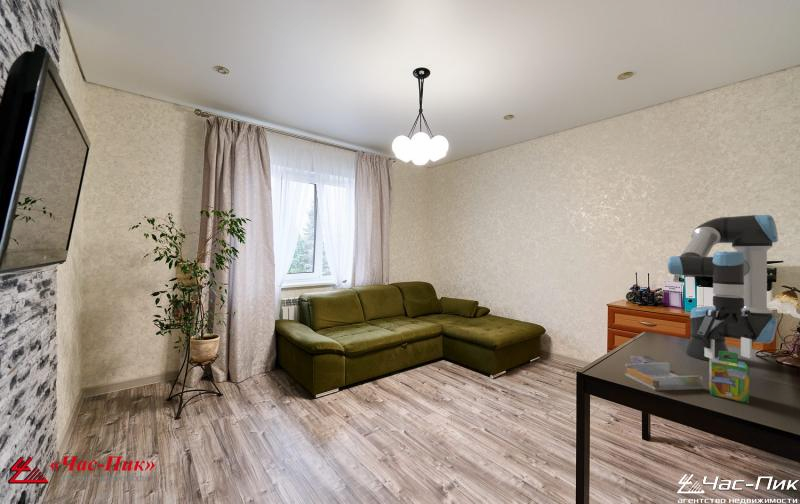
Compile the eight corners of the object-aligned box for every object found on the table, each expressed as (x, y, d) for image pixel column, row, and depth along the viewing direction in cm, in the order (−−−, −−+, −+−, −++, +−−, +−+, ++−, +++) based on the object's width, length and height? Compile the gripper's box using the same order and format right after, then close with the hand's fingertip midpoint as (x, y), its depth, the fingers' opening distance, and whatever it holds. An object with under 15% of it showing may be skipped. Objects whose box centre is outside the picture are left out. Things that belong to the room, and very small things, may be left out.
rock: (665, 374, 127) (664, 362, 127) (630, 368, 134) (630, 357, 134) (664, 368, 134) (664, 357, 134) (631, 362, 141) (630, 352, 141)
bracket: (667, 373, 128) (667, 362, 128) (702, 388, 114) (702, 376, 114) (625, 374, 127) (625, 363, 126) (655, 390, 113) (655, 378, 113)
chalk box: (710, 395, 108) (710, 353, 108) (708, 386, 115) (708, 346, 115) (750, 404, 102) (750, 359, 102) (745, 394, 109) (745, 351, 109)
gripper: (749, 294, 113) (748, 353, 113) (683, 294, 112) (683, 354, 112) (775, 297, 105) (774, 360, 105) (705, 297, 104) (705, 361, 104)
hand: (727, 357), depth 109 cm, fingers open, 13 cm apart
